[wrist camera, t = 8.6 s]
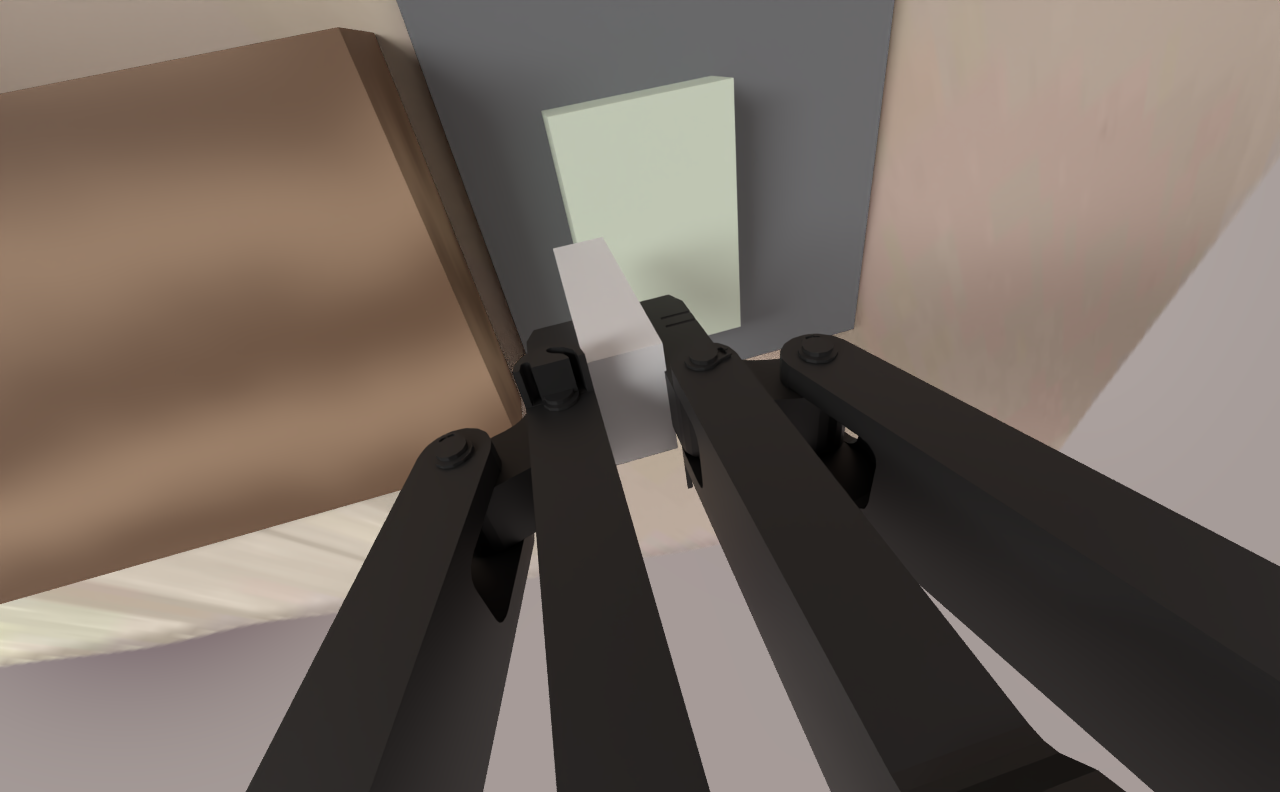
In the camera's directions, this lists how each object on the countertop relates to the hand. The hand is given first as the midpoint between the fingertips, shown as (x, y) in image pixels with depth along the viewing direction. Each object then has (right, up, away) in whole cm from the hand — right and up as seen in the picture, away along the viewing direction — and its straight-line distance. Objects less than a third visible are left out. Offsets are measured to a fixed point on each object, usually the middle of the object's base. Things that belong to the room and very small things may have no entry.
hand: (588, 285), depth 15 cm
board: (-16, -1, +3) cm, 16 cm away
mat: (+3, +4, +5) cm, 7 cm away
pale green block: (+2, +2, +3) cm, 4 cm away
